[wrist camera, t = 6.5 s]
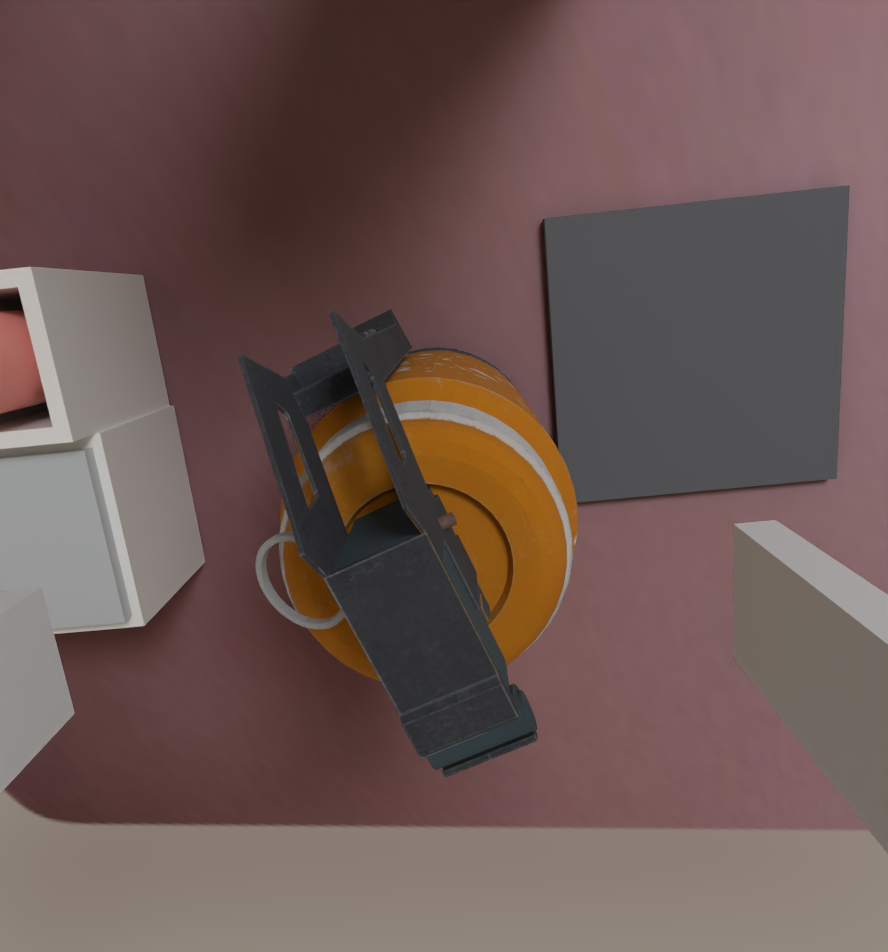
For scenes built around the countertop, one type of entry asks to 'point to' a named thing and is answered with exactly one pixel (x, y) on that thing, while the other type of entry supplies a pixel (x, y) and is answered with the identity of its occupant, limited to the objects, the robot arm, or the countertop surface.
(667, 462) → the drip mat
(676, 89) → the countertop surface
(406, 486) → the canister
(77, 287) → the white rectangular box
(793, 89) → the countertop surface
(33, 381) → the salmon pink capsule
